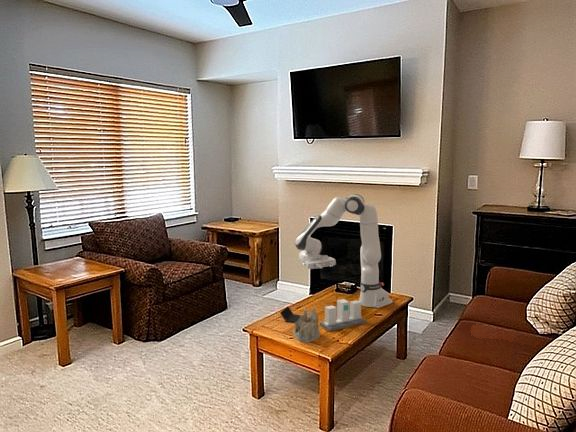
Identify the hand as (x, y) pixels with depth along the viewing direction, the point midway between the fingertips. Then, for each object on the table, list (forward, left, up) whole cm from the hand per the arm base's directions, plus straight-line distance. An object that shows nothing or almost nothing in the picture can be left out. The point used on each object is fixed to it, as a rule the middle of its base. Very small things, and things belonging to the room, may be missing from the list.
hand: (326, 266), depth 264 cm
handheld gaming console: (+26, +2, -28) cm, 39 cm away
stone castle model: (+30, +26, -28) cm, 49 cm away
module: (+4, +23, -25) cm, 34 cm away
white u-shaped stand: (+4, +23, -28) cm, 36 cm away
